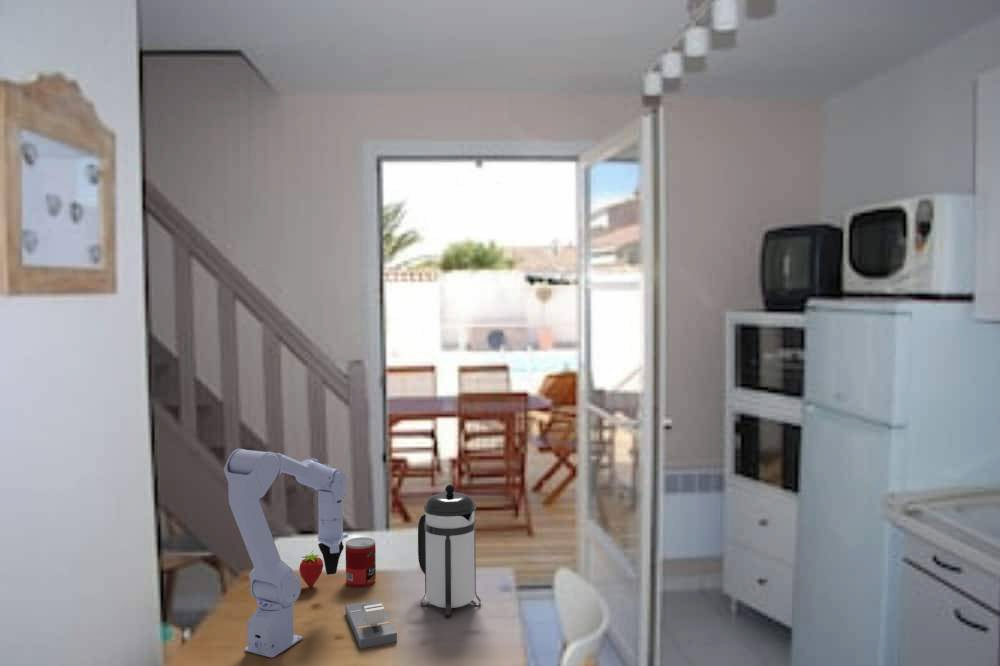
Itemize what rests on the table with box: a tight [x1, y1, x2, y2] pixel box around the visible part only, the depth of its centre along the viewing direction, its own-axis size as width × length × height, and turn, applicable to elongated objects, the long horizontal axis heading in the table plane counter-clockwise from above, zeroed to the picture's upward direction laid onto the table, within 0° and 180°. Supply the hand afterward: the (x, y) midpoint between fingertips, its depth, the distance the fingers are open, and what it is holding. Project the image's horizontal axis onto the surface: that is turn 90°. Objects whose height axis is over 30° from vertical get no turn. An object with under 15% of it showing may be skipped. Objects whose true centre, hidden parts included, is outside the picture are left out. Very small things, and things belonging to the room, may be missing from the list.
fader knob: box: [364, 603, 385, 627], centre depth 152 cm, size 3×4×4 cm
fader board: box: [345, 599, 398, 650], centre depth 156 cm, size 19×8×2 cm, turn 22°
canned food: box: [345, 536, 377, 588], centre depth 182 cm, size 8×8×11 cm
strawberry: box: [299, 550, 324, 588], centre depth 179 cm, size 6×8×10 cm
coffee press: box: [417, 484, 482, 618], centre depth 168 cm, size 17×16×30 cm
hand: (331, 573), depth 164 cm, fingers closed
